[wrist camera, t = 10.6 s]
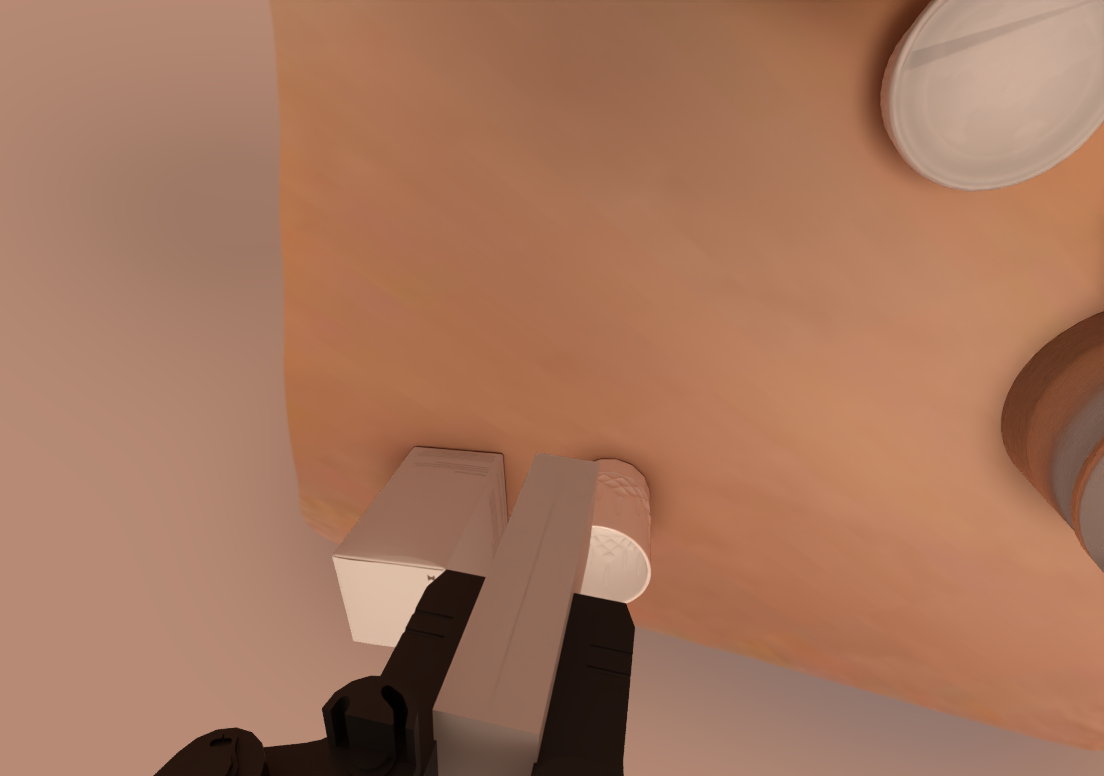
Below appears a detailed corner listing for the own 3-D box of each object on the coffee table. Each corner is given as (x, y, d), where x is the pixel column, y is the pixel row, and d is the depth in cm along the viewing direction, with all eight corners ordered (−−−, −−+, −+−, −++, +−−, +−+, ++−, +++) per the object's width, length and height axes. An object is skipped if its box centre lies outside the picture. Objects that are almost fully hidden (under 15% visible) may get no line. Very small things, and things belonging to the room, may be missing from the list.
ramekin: (991, -85, 32) (1043, -115, 27) (1123, 59, 33) (1195, 53, 29) (822, 98, 37) (842, 98, 32) (944, 215, 39) (980, 231, 34)
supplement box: (411, 443, 55) (326, 553, 42) (504, 451, 54) (446, 568, 40) (422, 521, 59) (349, 643, 46) (509, 531, 58) (458, 661, 44)
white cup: (666, 516, 53) (663, 600, 44) (584, 530, 56) (566, 612, 47) (641, 443, 50) (632, 517, 42) (555, 461, 53) (530, 535, 44)
